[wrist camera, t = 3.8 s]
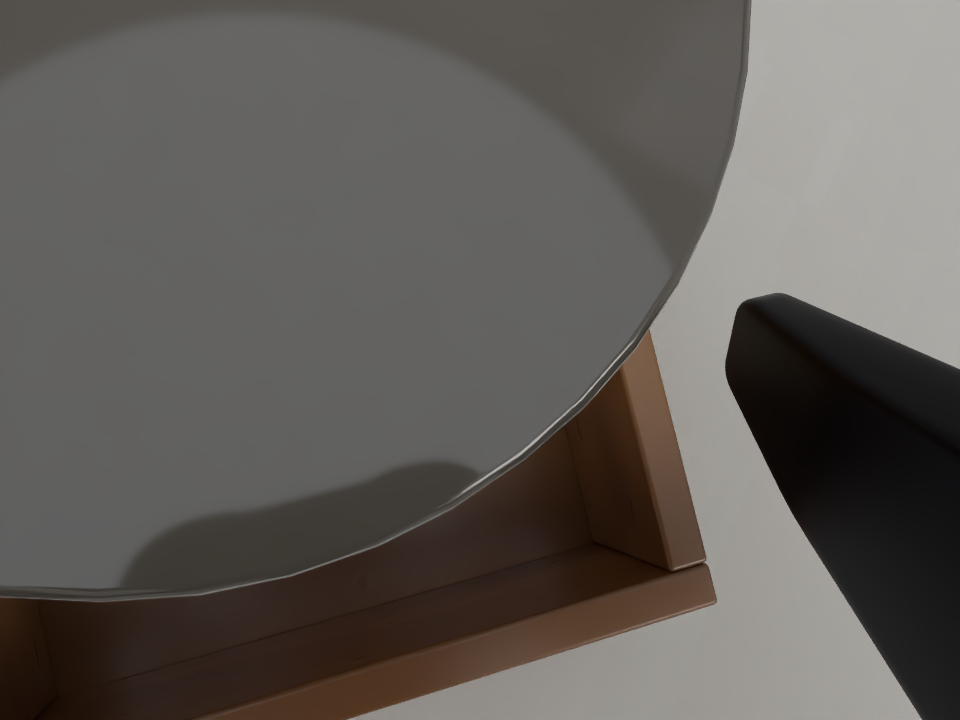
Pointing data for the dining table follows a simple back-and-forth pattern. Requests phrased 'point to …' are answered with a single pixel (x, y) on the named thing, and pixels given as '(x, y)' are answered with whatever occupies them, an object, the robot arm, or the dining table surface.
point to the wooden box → (400, 593)
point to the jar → (324, 263)
